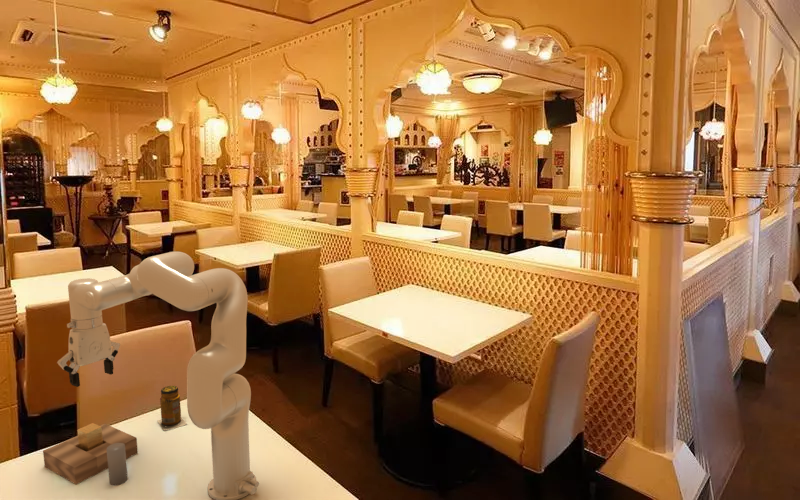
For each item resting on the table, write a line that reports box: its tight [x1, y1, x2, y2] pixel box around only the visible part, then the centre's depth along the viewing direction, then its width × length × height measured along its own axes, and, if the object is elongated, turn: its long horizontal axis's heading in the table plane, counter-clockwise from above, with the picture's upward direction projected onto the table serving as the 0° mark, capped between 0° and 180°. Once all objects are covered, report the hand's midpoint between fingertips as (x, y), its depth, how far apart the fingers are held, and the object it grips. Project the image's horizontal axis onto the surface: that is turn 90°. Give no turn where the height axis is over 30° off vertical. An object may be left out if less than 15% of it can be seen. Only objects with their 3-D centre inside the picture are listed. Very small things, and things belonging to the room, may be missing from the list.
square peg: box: [77, 422, 103, 452], centre depth 152 cm, size 4×4×10 cm
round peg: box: [107, 443, 129, 486], centre depth 143 cm, size 4×4×10 cm
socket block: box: [42, 423, 139, 485], centre depth 152 cm, size 16×18×5 cm
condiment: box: [156, 385, 187, 431], centre depth 174 cm, size 7×8×12 cm
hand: (92, 379), depth 150 cm, fingers open, 9 cm apart
